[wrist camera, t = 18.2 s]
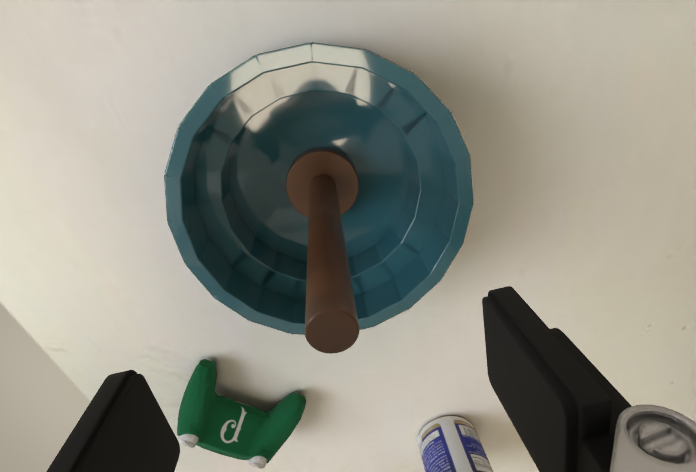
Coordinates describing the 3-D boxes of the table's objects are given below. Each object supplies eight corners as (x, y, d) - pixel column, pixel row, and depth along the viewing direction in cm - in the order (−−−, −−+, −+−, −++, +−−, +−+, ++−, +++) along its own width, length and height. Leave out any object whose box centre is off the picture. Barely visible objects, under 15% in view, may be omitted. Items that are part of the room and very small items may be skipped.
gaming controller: (197, 357, 34) (161, 434, 31) (201, 357, 30) (162, 442, 28) (297, 394, 36) (270, 468, 34) (311, 397, 33) (283, 480, 30)
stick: (297, 220, 27) (278, 402, 13) (278, 155, 25) (235, 285, 11) (362, 206, 27) (416, 373, 13) (349, 139, 25) (394, 250, 11)
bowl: (240, 302, 30) (224, 358, 24) (157, 78, 23) (109, 87, 18) (450, 257, 30) (481, 304, 24) (425, 18, 23) (459, 9, 18)
